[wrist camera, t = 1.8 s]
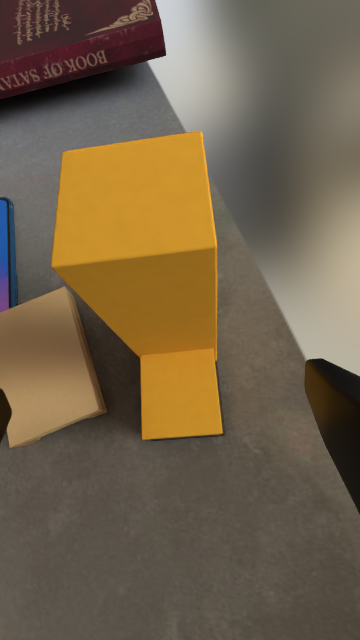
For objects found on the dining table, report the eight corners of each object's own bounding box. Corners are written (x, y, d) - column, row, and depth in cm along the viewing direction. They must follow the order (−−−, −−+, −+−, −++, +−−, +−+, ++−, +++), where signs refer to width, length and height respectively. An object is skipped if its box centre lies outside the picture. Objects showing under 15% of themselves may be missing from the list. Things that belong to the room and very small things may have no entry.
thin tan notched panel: (107, 412, 21) (99, 410, 19) (24, 447, 20) (9, 447, 19) (73, 295, 24) (64, 286, 23) (2, 324, 24) (-12, 316, 22)
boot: (149, 312, 23) (61, 150, 10) (210, 306, 23) (201, 129, 10) (153, 440, 20) (30, 448, 7) (224, 435, 19) (241, 434, 6)
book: (160, 14, 26) (170, 79, 31) (134, -76, 35) (144, -15, 39) (-142, 96, 28) (-91, 146, 32) (-96, -9, 36) (-60, 42, 41)
